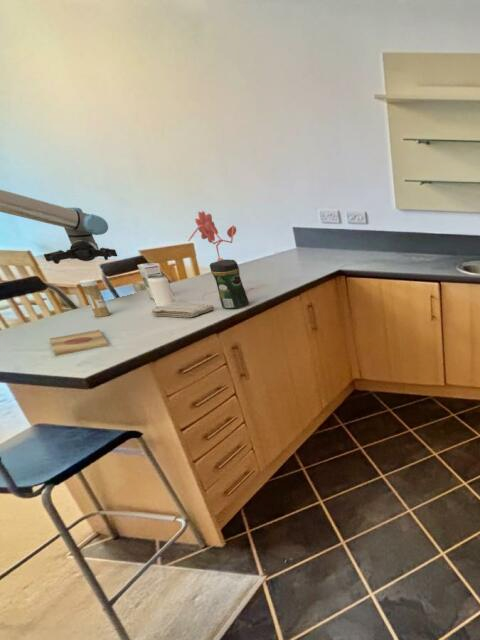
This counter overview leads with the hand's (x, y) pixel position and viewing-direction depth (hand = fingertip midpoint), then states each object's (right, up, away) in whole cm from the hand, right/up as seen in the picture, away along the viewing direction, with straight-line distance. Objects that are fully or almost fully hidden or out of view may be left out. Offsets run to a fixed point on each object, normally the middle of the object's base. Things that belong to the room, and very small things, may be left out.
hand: (80, 258), depth 155 cm
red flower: (+32, -7, +32) cm, 46 cm away
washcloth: (+34, -20, +7) cm, 40 cm away
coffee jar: (+48, -15, +16) cm, 53 cm away
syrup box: (+9, -10, +25) cm, 28 cm away
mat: (+24, -34, -23) cm, 47 cm away
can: (+20, -15, +15) cm, 29 cm away
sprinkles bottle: (+6, -21, +3) cm, 22 cm away
